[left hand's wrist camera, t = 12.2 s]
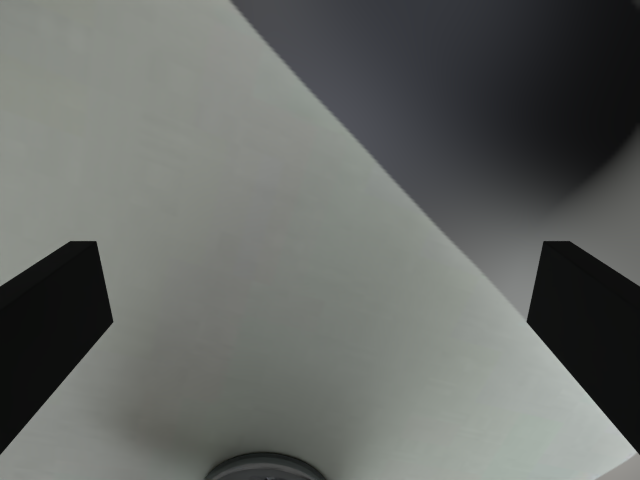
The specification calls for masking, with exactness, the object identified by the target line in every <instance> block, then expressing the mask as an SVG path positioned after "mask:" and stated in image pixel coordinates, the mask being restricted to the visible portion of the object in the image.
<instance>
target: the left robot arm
mask: <svg viewBox="0 0 640 480" xmlns="http://www.w3.org/2000/svg"><path fill="white" fill-rule="evenodd" d="M112 323H113V318H112V313H111V308H110V304H109V299H108V294H107V289H106V285H105V280H104V275H103V270H102V266H101V261H100V256H99V251H98V246H97V242H96V241H70V242H68V243H67V244H65V245H64V246H62V247H61V248H59V249H57V250H56V251H54V252H53V253H51V254H50V255H48V256H47V257H45V258H44V259H42V260H40V261H39V262H37V263H36V264H34V265H33V266H31V267H30V268H28V269H27V270H25V271H24V272H22V273H20V274H19V275H17V276H16V277H14V278H13V279H11V280H10V281H8V282H7V283H5V284H3V285H2V286H0V455H1V453H2V452H3V451H4V450H5V449H6V447H7V446H8V445H9V444H10V443H11V442H12V440H13V439H14V438H15V437H16V436H17V435H18V433H19V432H20V431H21V430H22V429H23V428H24V426H25V425H26V424H27V423H28V422H29V420H30V419H31V418H32V417H33V416H34V415H35V413H36V412H37V411H38V410H39V409H40V408H41V406H42V405H43V404H44V403H45V402H46V401H47V399H48V398H49V397H50V396H51V395H52V393H53V392H54V391H55V390H56V389H57V388H58V386H59V385H60V384H61V383H62V382H63V381H64V379H65V378H66V377H67V376H68V375H69V374H70V372H71V371H72V370H73V369H74V368H75V367H76V365H77V364H78V363H79V362H80V361H81V359H82V358H83V357H84V356H85V355H86V354H87V352H88V351H89V350H90V349H91V348H92V347H93V345H94V344H95V343H96V342H97V341H98V340H99V338H100V337H101V336H102V335H103V334H104V332H105V331H106V330H107V329H108V328H109V327H110V325H111V324H112ZM527 323H528V324H529V325H530V327H531V328H532V329H533V330H534V331H535V332H536V334H537V335H538V336H539V337H540V338H541V340H542V341H543V342H544V343H545V344H546V345H547V347H548V348H549V349H550V350H551V351H552V352H553V354H554V355H555V356H556V357H557V358H558V359H559V361H560V362H561V363H562V364H563V365H564V367H565V368H566V369H567V370H568V371H569V372H570V374H571V375H572V376H573V377H574V378H575V379H576V381H577V382H578V383H579V384H580V385H581V386H582V388H583V389H584V390H585V391H586V392H587V393H588V395H589V396H590V397H591V398H592V399H593V401H594V402H595V403H596V404H597V405H598V406H599V408H600V409H601V410H602V411H603V412H604V413H605V415H606V416H607V417H608V418H609V419H610V420H611V422H612V423H613V424H614V425H615V426H616V428H617V429H618V430H619V431H620V432H621V433H622V435H623V436H624V437H625V438H626V439H627V440H628V442H629V443H630V444H631V445H632V446H633V447H634V449H635V450H636V451H637V452H638V453H639V455H640V286H638V285H637V284H635V283H633V282H632V281H630V280H629V279H627V278H626V277H624V276H623V275H621V274H620V273H618V272H616V271H615V270H613V269H612V268H610V267H609V266H607V265H606V264H604V263H603V262H601V261H600V260H598V259H596V258H595V257H593V256H592V255H590V254H589V253H587V252H586V251H584V250H582V249H581V248H579V247H578V246H576V245H575V244H573V243H572V242H570V241H544V242H543V246H542V251H541V256H540V261H539V266H538V270H537V275H536V280H535V285H534V289H533V294H532V299H531V304H530V309H529V313H528V318H527ZM205 480H325V478H324V477H323V476H322V475H321V474H320V473H319V472H318V471H317V470H315V469H314V468H312V467H311V466H309V465H308V464H306V463H304V462H302V461H300V460H297V459H294V458H291V457H288V456H284V455H279V454H270V453H256V454H247V455H242V456H239V457H235V458H232V459H230V460H227V461H225V462H223V463H222V464H220V465H219V466H217V467H216V468H215V469H213V470H212V471H211V472H210V473H209V474H208V476H207V477H206V478H205Z"/></svg>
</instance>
